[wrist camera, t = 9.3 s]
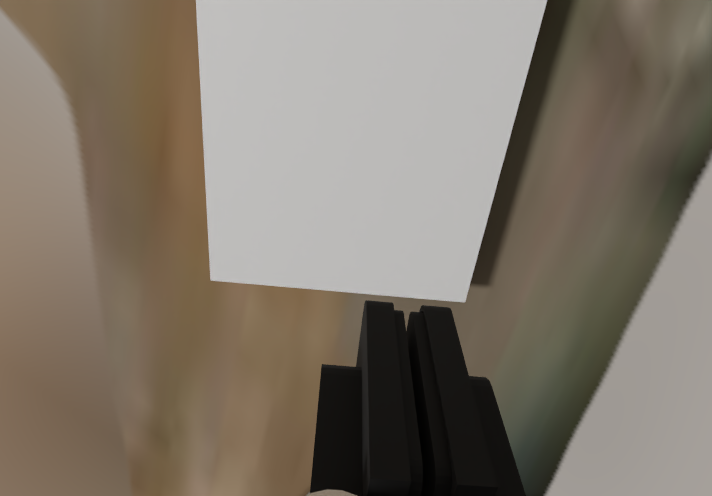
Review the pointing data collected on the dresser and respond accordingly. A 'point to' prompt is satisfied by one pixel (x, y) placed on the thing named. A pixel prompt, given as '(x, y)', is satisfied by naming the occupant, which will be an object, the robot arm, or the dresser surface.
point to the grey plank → (357, 138)
